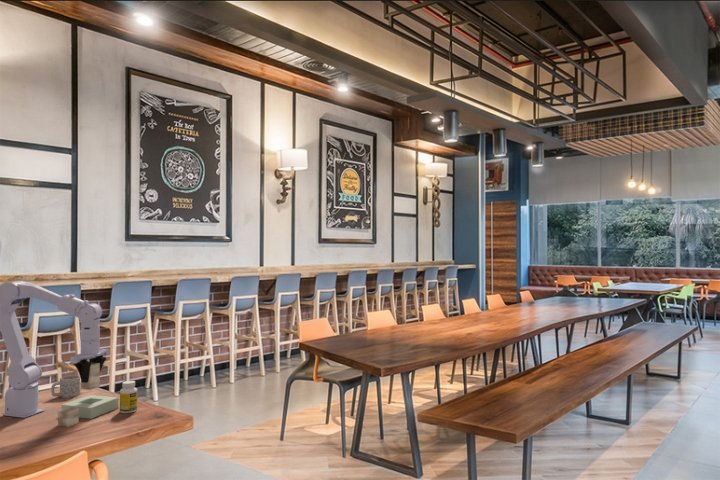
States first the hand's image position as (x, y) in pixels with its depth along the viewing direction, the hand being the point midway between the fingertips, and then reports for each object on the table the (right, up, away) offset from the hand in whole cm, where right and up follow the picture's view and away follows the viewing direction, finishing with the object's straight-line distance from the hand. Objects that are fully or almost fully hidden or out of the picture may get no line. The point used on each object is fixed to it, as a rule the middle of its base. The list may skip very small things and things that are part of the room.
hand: (90, 380), depth 179 cm
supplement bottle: (+13, -11, 0) cm, 17 cm away
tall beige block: (0, -2, 0) cm, 2 cm away
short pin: (-1, -10, -12) cm, 16 cm away
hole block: (0, -10, 0) cm, 10 cm away
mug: (-18, -11, +18) cm, 28 cm away
